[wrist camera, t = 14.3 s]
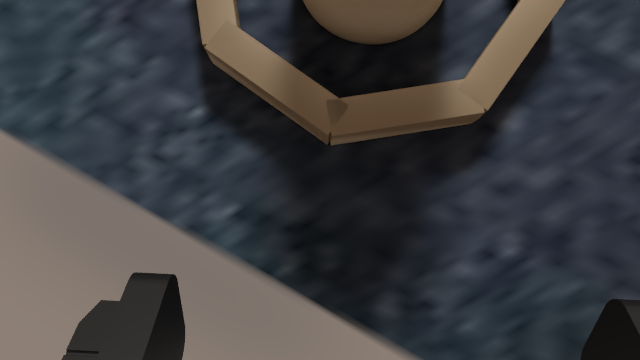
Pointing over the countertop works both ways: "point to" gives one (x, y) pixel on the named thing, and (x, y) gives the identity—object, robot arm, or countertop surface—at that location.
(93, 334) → the robot arm
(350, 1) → the candle
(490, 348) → the countertop surface
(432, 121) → the maple ring
